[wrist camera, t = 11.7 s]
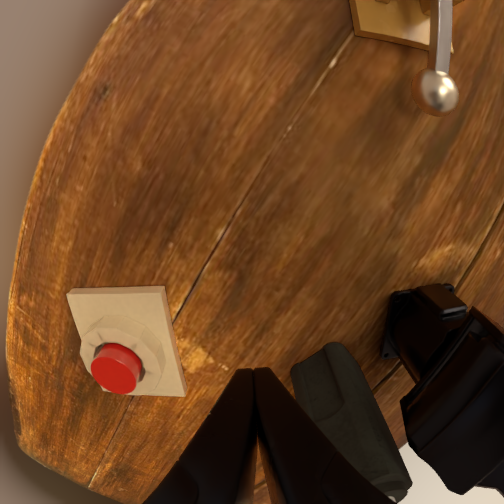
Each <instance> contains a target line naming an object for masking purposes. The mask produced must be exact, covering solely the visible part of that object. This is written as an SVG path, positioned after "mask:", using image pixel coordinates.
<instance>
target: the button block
mask: <svg viewBox="0 0 504 504" xmlns="http://www.w3.org/2000/svg"><path fill="white" fill-rule="evenodd" d="M66 296H67V299H68V302H69V306H70V309H71V312H72V315H73V318H74V321H75V324H76V327H77V329H78V332H79V335H80V338H81V340H82V343H81V349H80V355H81V357H82V359H83V362H84V364H85V366H86V369H87V371H88V372H89V373H90V374H91V375H92V373H91V363H92V361H93V359H94V358H95V356H96V354H97V353H98V351H99V350H100V348H101V347H102V346H103V345H105V344H107V343H118V344H121V345H123V346H125V347H127V348H129V349H131V350H132V351H133V352H134V353H135V354H136V355H137V356H138V357H139V359H140V361H141V363H142V373H141V375H140V378H139V380H138V383H137V386H136V388H135V389H134V391H132V392H131V393H128V394H127V395H139V396H140V395H154V396H177V397H185V396H186V391H187V385H186V382H185V378H184V374H183V370H182V366H181V362H180V357H179V353H178V349H177V344H176V340H175V335H174V331H173V326H172V321H171V317H170V312H169V307H168V302H167V296H166V291H165V286H142V287H109V288H73V289H72V290H71V291H69V292H68V293H67V294H66ZM92 376H93V375H92ZM100 386H101V385H100ZM101 388H102V390H103V391H107V392H111V391H109V390H107V389H105V388H103V387H102V386H101Z"/></svg>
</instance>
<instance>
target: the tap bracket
mask: <svg viewBox="0 0 504 504" xmlns="http://www.w3.org/2000/svg"><path fill="white" fill-rule="evenodd" d="M462 1H464V0H452V6H454V5H456V4H458V3H460V2H462ZM349 3H350V8H351V14H352V20H353V26H354V33H355V36H361V37H367V38H373V39H379V40H384V41H389V42H394V43H398V44H403V45H407V46H411V47H415V48H419V49H423V50H426V51H429V38H430V0H349ZM451 54H454V51H453V46H452V41H451V52H450V55H451Z"/></svg>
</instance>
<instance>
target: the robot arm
mask: <svg viewBox="0 0 504 504" xmlns="http://www.w3.org/2000/svg"><path fill="white" fill-rule="evenodd" d="M453 293H454V287H453V286H452V285H451V284H444V285H441V284H433V285H426V286H419V287H416V288H415V289H409V290H401V291H395V292H393V293H392V294H391V296H390V301H389V307H388V313H387V319H386V324H385V330H384V335H383V340H382V345H381V349H380V356H381V358H382V359H390V358H395V357H398V358H399V359H400V361H401V362H402V364H403V365H404V367H405V368H406V370H407V371H408V373H409V374H410V376H411V378H412V379H413V381H414V382H415V384H416V385H415V386H414V387H413V388H412V389H411V391H410V392H409V393H408V394H407V395H406V396H404V397H403V398H402V399H401V400H400V406H401V410H402V415H403V421H404V426H405V431H406V437H407V440H408V444H409V446H410V447H411V448H412V449H413V450H414V452H415V453H416V454H417V455H418V457H420V458H421V459H423V460H424V461H425V462H426V463H428V464H429V465H430V466H431V467H432V468H433V469H434V470H435V471H436V473H437V474H438V476H439V477H440V478H441V480H442V481H443V483H444V484H445V486H446V487H447V489H448V490H450V491H452V492H454V493H457V494H459V495H464V494H465V493H466V492H468V491H469V490H470V489H472V488H473V487H474V486H477V487H483V488H491V489H496V490H497V491H498V492H499V493H500V494H501V495H502V496H503V497H504V329H503V328H502V327H501V326H500V325H499V324H497V323H496V322H495V321H493V320H492V319H491V318H489V317H488V316H487V315H485V314H484V313H482V312H481V311H479V310H478V309H477V308H475V307H474V306H472V308H471V309H470V311H469V313H468V312H467V309H468V307H467V305H466V304H465V303H464V302H462V301H461V300H460V299H459V298H457V297H456V296H455V295H454V294H453ZM397 296H398V298H397V299H396V300H395V298H396V297H397ZM385 353H386V354H385ZM384 354H385V355H384ZM253 375H254V376H253ZM257 435H258V440H257ZM258 445H259V450H260V455H261V460H262V464H263V469H264V473H265V478H266V482H267V486H268V491H269V495H270V499H271V504H397V503H396V502H394V501H393V500H392V499H390V498H389V497H388V496H386V495H385V494H384V493H383V492H381V491H380V490H379V489H377V488H376V487H375V486H374V485H373V484H371V483H370V482H369V481H368V480H367V479H366V478H364V477H363V476H362V475H361V474H360V473H359V472H358V471H357V470H356V469H355V468H354V467H353V466H352V465H351V464H350V463H349V462H348V461H347V459H346V458H345V457H344V456H343V455H342V454H341V453H340V452H339V451H337V448H336V447H335V446H334V445H333V444H332V443H331V442H330V440H329V439H328V438H327V437H326V436H325V435H324V433H323V432H322V431H321V430H320V429H319V428H318V426H317V425H316V424H315V423H314V422H313V421H312V419H311V418H310V417H309V416H308V415H307V413H306V412H305V411H304V410H303V409H302V407H301V406H300V405H299V404H298V403H297V401H296V400H295V399H294V398H293V396H292V395H291V394H290V393H289V391H288V390H287V389H286V388H285V386H284V385H283V384H282V383H281V382H280V380H279V379H278V378H277V376H276V375H275V374H274V373H273V371H272V370H271V369H270V368H269V367H261V368H254V370H253V369H251V368H244V369H237V370H236V371H235V373H234V375H233V376H232V378H231V379H230V381H229V383H228V384H227V386H226V387H225V389H224V390H223V392H222V394H221V395H220V397H219V398H218V400H217V401H216V403H215V405H214V406H213V408H212V409H211V411H210V412H209V414H208V415H207V417H206V418H205V420H204V421H203V423H202V424H201V426H200V427H199V429H198V430H197V432H196V433H195V435H194V436H193V438H192V439H191V441H190V442H189V444H188V445H187V447H186V448H185V450H184V451H183V453H182V454H181V456H180V457H179V461H176V463H175V464H174V466H173V467H172V468H171V470H170V471H169V473H168V474H167V475H166V477H165V478H164V479H163V480H162V482H161V483H160V484H159V486H158V487H157V488H156V489H155V490H154V491H153V492H152V494H151V495H150V496H149V497H148V498H147V499H146V500H145V501H144V502H143V503H142V504H253V494H254V483H255V472H256V461H257V447H258Z"/></svg>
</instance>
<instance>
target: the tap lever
mask: <svg viewBox="0 0 504 504" xmlns="http://www.w3.org/2000/svg"><path fill="white" fill-rule="evenodd" d="M451 37H452V0H430V38H429V53H428V65H427V68H426V69H423V70H421V71H419V72H418V73H417V74H416V75H415V76H414V78H413V80H412V84H411V92H412V96H413V99H414V101H415V102H416V104H417V105H418V106H419V108H420V109H421V110H423V111H424V112H426V113H427V114H429V115H432V116H438V117H440V116H446V115H448V114H450V113H451V112H453V111H454V109H455V108H456V106H457V104H458V100H459V92H458V88H457V86H456V84H455V82H454V80H453V79H452V78H451V77H450V76H449V75H448V72H449V63H450V52H451Z"/></svg>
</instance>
